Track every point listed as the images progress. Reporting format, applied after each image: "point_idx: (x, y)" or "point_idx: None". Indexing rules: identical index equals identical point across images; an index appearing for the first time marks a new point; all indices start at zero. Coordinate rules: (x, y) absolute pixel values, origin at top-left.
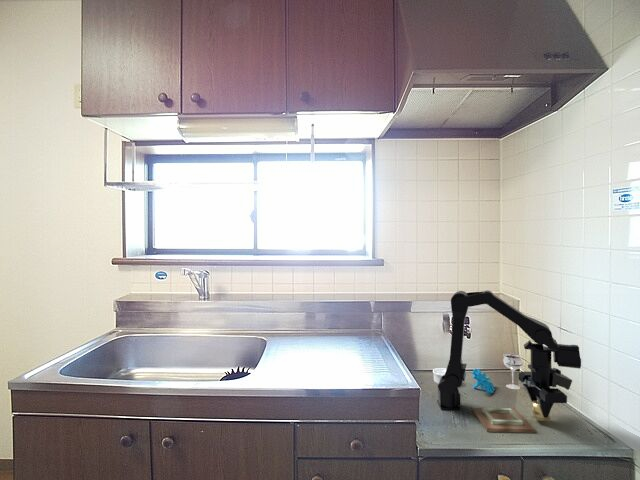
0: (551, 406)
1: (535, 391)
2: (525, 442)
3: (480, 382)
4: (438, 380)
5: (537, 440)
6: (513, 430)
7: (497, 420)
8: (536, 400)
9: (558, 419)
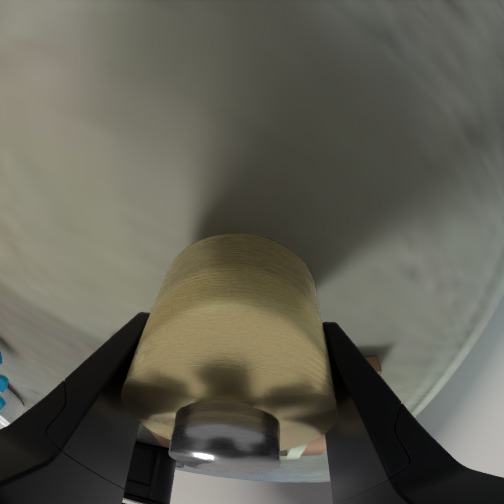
0: (418, 429)
1: (86, 492)
2: (419, 393)
3: None
4: (20, 415)
5: (430, 363)
6: None
7: (295, 453)
8: (144, 420)
9: (182, 99)
